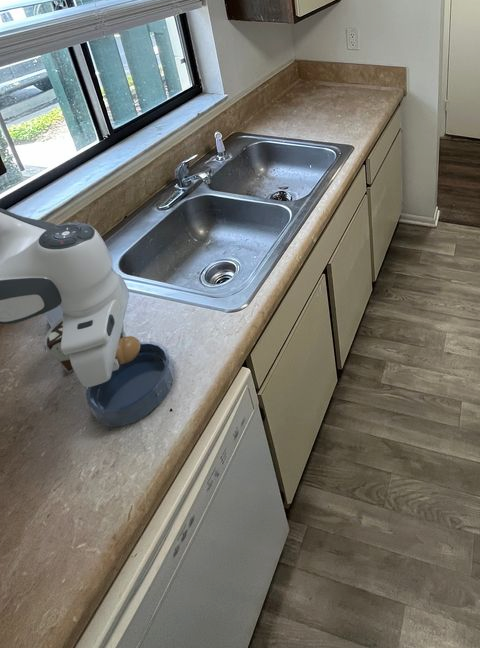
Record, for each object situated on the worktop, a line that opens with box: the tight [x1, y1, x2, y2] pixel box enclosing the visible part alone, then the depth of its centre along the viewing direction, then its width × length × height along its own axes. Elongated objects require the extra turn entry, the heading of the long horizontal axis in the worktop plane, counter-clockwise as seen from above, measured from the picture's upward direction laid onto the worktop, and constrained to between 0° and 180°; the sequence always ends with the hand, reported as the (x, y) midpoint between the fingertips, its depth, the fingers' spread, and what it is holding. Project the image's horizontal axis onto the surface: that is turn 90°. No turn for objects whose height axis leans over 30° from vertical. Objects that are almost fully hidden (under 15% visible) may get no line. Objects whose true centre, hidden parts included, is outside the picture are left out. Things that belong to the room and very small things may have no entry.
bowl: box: [85, 341, 175, 428], centre depth 87 cm, size 14×14×5 cm
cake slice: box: [43, 318, 74, 374], centre depth 95 cm, size 12×6×10 cm, turn 134°
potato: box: [116, 335, 141, 365], centre depth 83 cm, size 8×5×5 cm, turn 111°
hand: (117, 353), depth 83 cm, fingers closed on potato, 4 cm apart
